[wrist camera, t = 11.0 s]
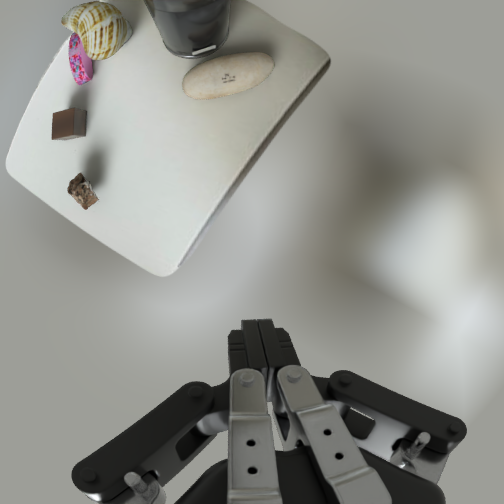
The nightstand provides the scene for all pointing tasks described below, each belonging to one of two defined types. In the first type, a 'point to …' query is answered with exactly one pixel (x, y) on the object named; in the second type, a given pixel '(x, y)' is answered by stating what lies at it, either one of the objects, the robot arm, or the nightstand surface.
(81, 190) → the rock
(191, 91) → the stone
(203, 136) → the nightstand surface
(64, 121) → the brown cube block
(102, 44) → the seashell
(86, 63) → the headband
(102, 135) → the nightstand surface
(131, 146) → the nightstand surface
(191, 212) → the nightstand surface
